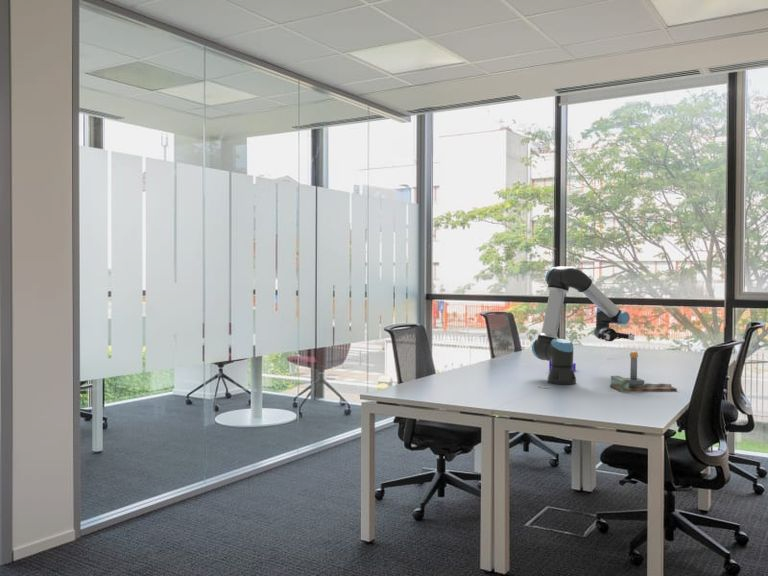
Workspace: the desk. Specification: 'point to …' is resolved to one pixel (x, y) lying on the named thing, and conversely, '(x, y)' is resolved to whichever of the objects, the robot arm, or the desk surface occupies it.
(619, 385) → the track bed
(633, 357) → the lever
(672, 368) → the desk surface
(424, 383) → the desk surface
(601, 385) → the desk surface
